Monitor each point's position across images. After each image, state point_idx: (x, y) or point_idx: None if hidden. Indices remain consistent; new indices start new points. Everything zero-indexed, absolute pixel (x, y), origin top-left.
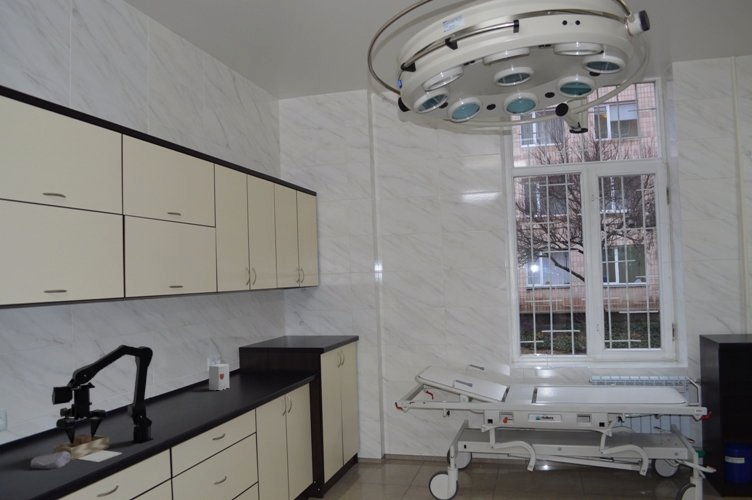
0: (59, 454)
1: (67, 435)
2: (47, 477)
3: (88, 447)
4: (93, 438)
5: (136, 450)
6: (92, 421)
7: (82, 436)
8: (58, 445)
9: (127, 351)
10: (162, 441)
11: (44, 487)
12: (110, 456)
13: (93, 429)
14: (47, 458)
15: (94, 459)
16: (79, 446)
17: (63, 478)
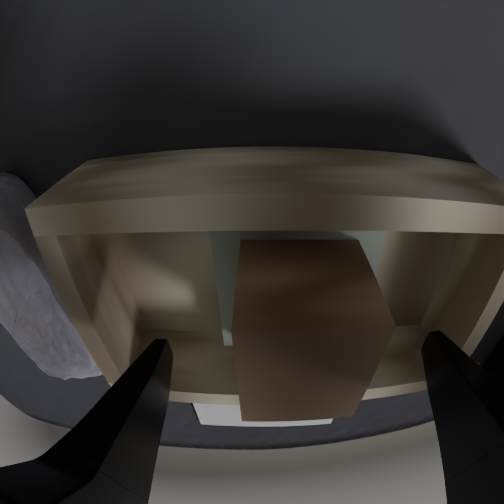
0: (50, 361)
1: (94, 408)
2: (25, 374)
3: None
4: (493, 242)
5: (378, 422)
6: (499, 482)
7: (303, 391)
8: (62, 226)
9: None
10: None
11: (23, 403)
12: (273, 424)
13: (447, 419)
14: (2, 317)
15: (210, 407)
16: (182, 400)
17: (63, 410)
